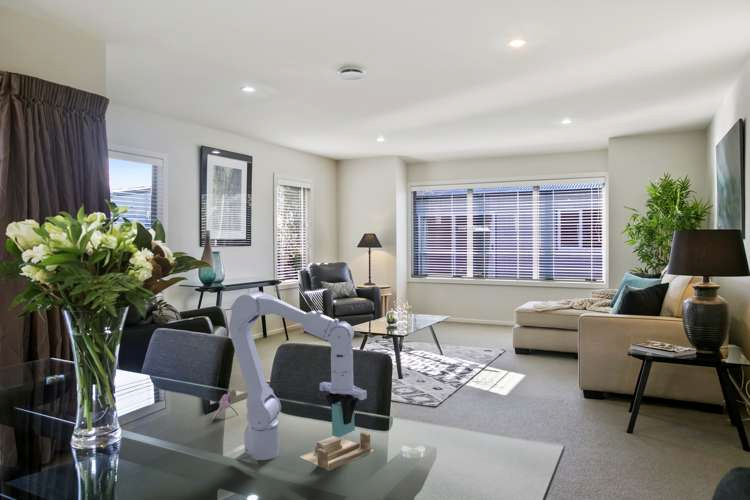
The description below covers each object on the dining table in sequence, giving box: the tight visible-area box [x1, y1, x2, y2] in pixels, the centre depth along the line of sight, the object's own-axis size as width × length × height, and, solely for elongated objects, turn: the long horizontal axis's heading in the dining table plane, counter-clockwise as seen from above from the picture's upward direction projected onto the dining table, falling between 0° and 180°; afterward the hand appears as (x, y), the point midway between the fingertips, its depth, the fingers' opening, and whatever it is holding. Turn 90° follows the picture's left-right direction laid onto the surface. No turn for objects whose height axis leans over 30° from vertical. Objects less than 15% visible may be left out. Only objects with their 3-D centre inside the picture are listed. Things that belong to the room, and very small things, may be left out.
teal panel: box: [331, 401, 356, 438], centre depth 134 cm, size 2×6×8 cm, turn 142°
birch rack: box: [299, 431, 375, 472], centre depth 136 cm, size 12×16×5 cm
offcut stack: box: [314, 435, 342, 454], centre depth 138 cm, size 4×7×2 cm, turn 135°
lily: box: [211, 386, 239, 422], centre depth 170 cm, size 12×12×10 cm
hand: (343, 422), depth 134 cm, fingers closed on teal panel, 2 cm apart
